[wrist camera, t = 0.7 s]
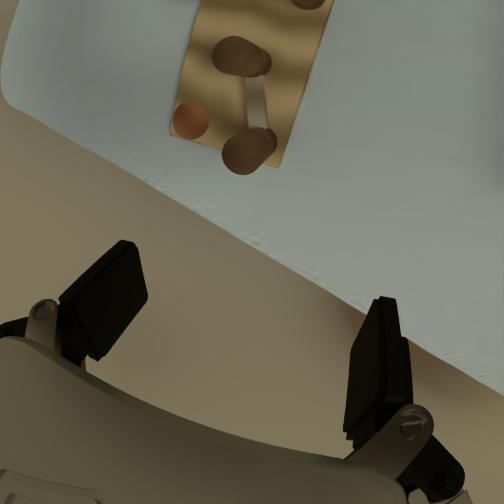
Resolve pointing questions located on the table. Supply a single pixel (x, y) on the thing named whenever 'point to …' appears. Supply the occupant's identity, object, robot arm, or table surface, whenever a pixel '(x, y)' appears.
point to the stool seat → (233, 87)
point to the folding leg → (253, 70)
